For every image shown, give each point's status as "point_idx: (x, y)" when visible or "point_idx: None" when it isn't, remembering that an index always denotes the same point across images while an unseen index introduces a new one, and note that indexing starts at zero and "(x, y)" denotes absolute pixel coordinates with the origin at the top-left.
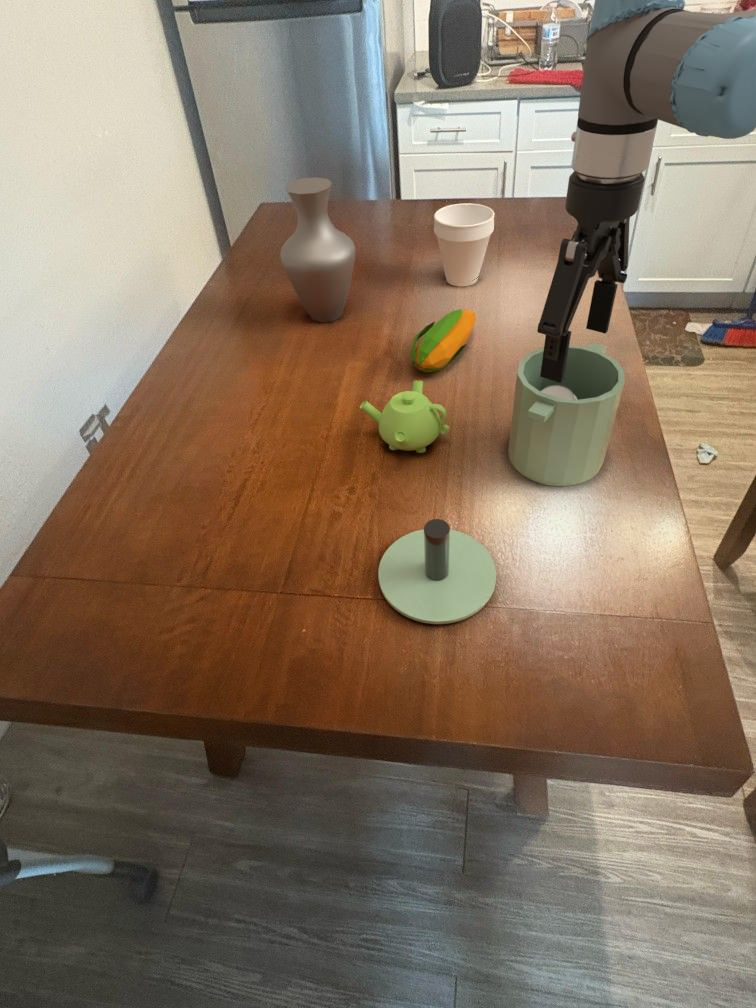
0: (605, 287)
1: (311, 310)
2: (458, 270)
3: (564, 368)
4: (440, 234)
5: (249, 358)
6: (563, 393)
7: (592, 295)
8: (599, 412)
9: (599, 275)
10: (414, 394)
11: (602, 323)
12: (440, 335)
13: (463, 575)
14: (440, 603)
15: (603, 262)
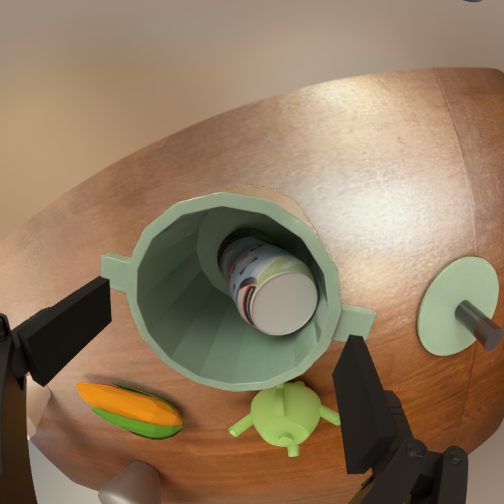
0: (39, 357)
1: (159, 483)
2: (41, 398)
3: (360, 355)
4: (34, 431)
5: (228, 493)
6: (266, 298)
7: (64, 365)
8: (304, 219)
9: (25, 387)
10: (280, 438)
11: (97, 300)
12: (144, 426)
13: (465, 287)
14: (487, 293)
15: (17, 444)
